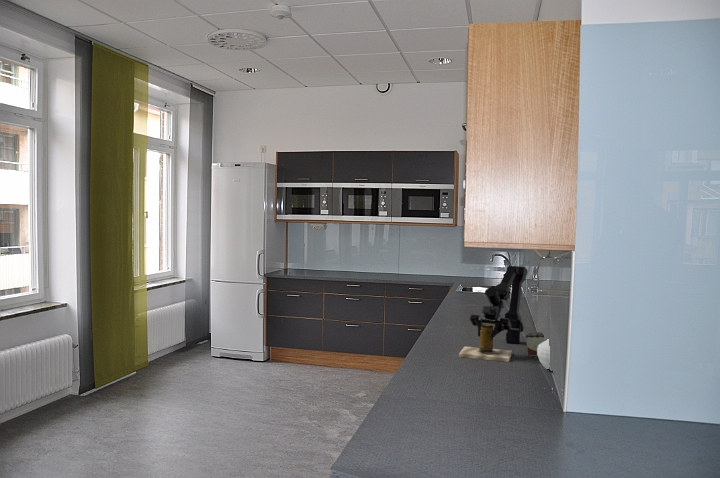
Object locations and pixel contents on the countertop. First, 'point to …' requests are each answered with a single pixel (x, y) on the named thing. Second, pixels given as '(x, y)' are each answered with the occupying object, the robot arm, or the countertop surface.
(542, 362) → the vase
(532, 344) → the food container
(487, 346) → the condiment
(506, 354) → the birch board
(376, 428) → the countertop surface
